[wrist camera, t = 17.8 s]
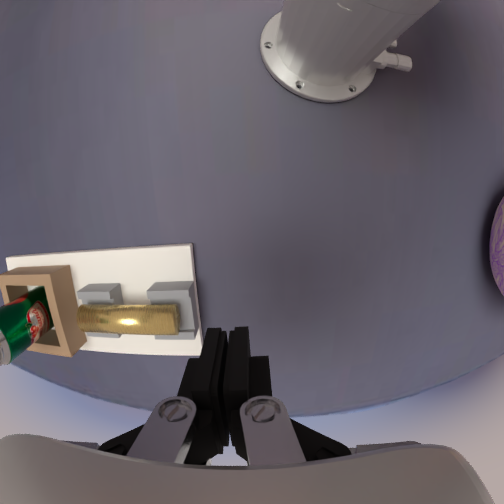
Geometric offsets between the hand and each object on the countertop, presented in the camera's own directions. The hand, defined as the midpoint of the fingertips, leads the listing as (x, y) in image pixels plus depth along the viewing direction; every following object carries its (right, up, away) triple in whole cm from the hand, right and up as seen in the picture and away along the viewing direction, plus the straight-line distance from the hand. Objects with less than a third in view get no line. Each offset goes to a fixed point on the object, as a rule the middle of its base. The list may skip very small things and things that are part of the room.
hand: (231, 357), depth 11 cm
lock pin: (-11, -2, +15) cm, 18 cm away
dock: (-18, -1, +18) cm, 25 cm away
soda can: (-23, -2, +17) cm, 29 cm away
